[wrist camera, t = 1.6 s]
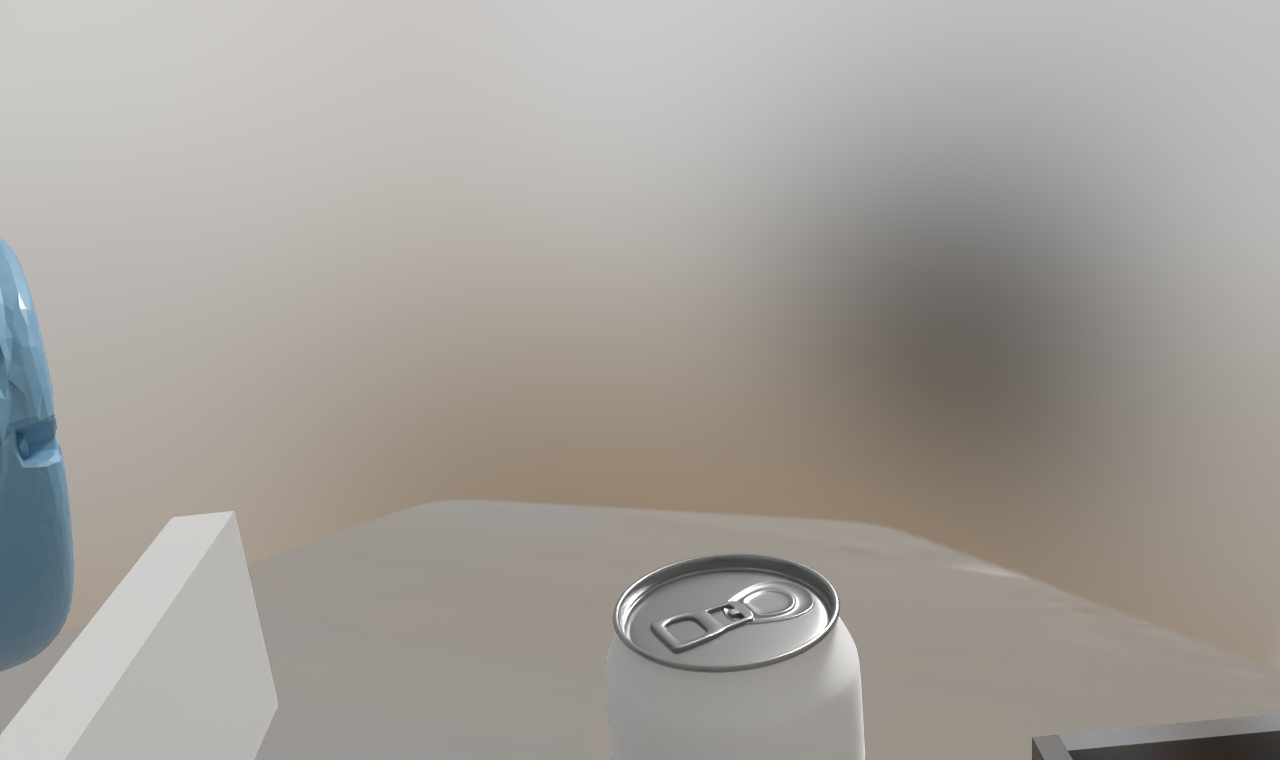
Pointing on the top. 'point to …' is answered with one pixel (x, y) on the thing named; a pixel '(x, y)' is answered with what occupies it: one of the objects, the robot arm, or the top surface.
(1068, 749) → the seat block
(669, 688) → the can
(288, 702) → the top surface
